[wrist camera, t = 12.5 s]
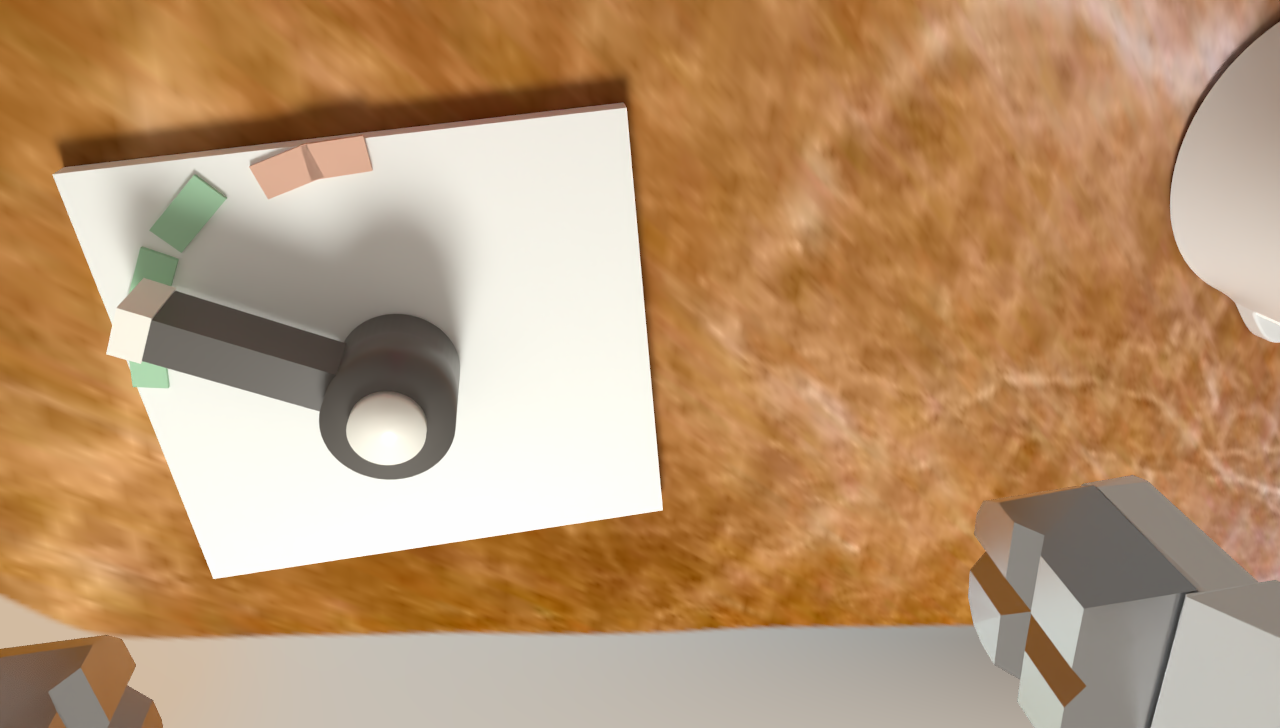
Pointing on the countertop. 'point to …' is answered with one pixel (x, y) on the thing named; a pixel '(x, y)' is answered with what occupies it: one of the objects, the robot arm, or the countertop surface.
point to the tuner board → (398, 284)
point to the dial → (311, 372)
